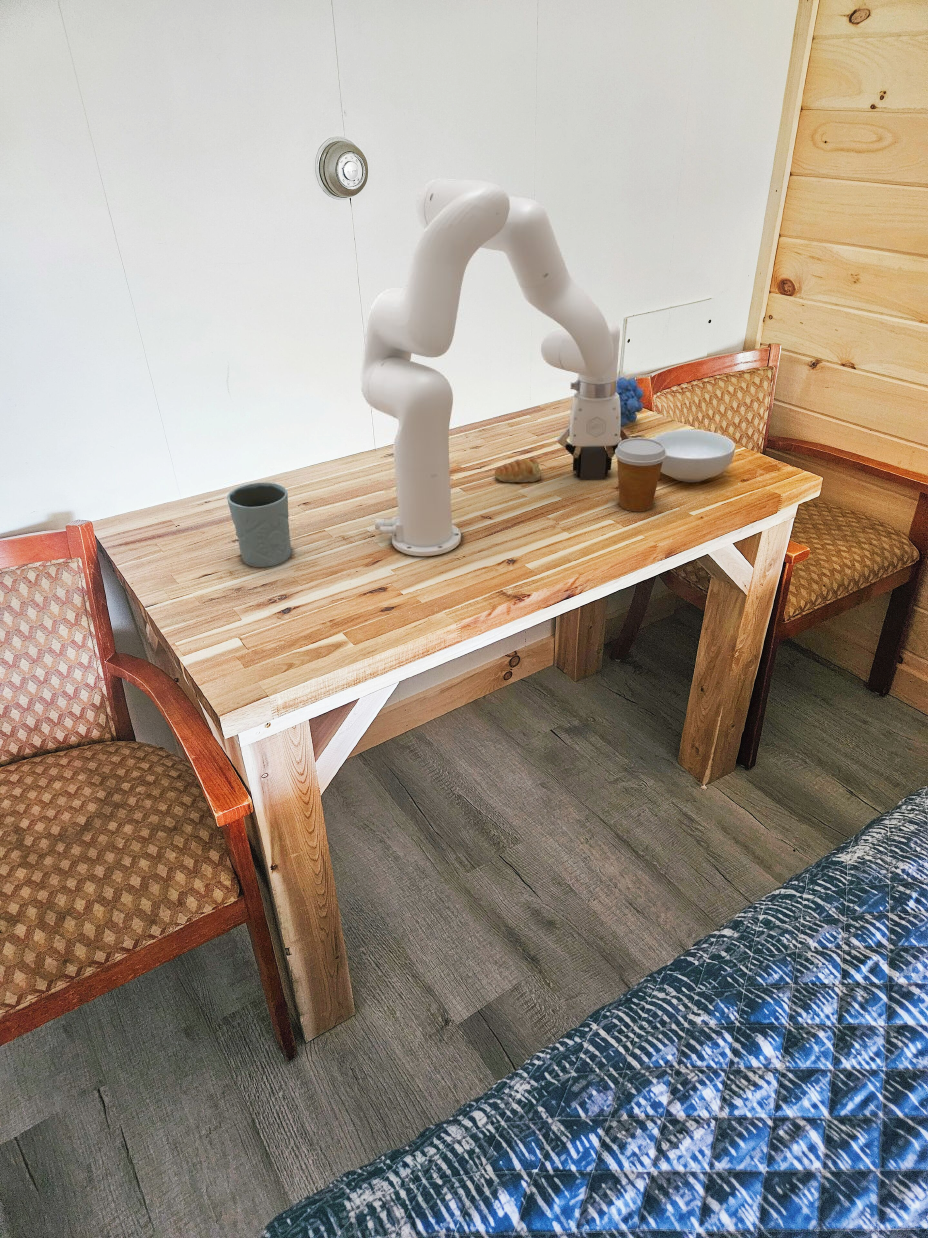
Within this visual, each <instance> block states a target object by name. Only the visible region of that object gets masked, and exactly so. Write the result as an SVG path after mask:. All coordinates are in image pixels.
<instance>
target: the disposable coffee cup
mask: <svg viewBox="0 0 928 1238" xmlns="http://www.w3.org/2000/svg"><path fill="white" fill-rule="evenodd" d="M666 454H667V453H666V451H665V447H664V445H663V444H662V443H661V442H659V441H656V440H653V439H652V438H648V437H629V439H626V440H623V441H621V442H620V443H619V444H618V447H617V448H616V450H615V454H614V455H615V458H616V461H617V463H616V464H617V485H618V503H619V507H621V508H622V509H624V510H627V511H629V512H630V511H631V512H645V511H648V510H650V509H651V508H653V504H654V499H655V496H656V491H657V487H658V483H659V479H660V474H661V472H660V471H661V467H662V463H663V460H664V458H665V457H666Z"/></svg>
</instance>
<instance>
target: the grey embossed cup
mask: <svg viewBox="0 0 928 1238" xmlns="http://www.w3.org/2000/svg"><path fill="white" fill-rule="evenodd" d="M226 500H227V504H228V508H229V511H230V516H231V520H232V523H233V525H234V528H235V535H236V538H237V539H238V547H239V551H240V556H241V559H242V561H243V563H244V564H246V565H248V566H249V567H254V568H269V567H274V566H277V565H280V564H282V563H285V562H286V561H287V560H288V559H289V558H290V557H291V554H292V546H291V536H290V522H289V515H290V514H289V494H288V490H287V489H286V488H285V487H284V486H282V485H280V484H277V483H273V482H253V483H248V484H243V485H239V486H238V487H236V488H233V490H230V491H229V492H228V494H227V496H226Z"/></svg>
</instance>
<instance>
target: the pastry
mask: <svg viewBox="0 0 928 1238" xmlns="http://www.w3.org/2000/svg"><path fill="white" fill-rule="evenodd" d="M541 474H542V473H541V468H540V465H539V462H538V460H537V458H535V457H530V458H519V459H518V458H517V459H514V460H513V461H511V462H508V463H504V464H502V465H501V466H498V467H497V468H495V471H494V477H495V478H496V479H497V480H499V481H501V482H503V483H527V482H530V483H534V482H537V481H539V480H540V479H541V478H542V477H541V476H542V475H541Z"/></svg>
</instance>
